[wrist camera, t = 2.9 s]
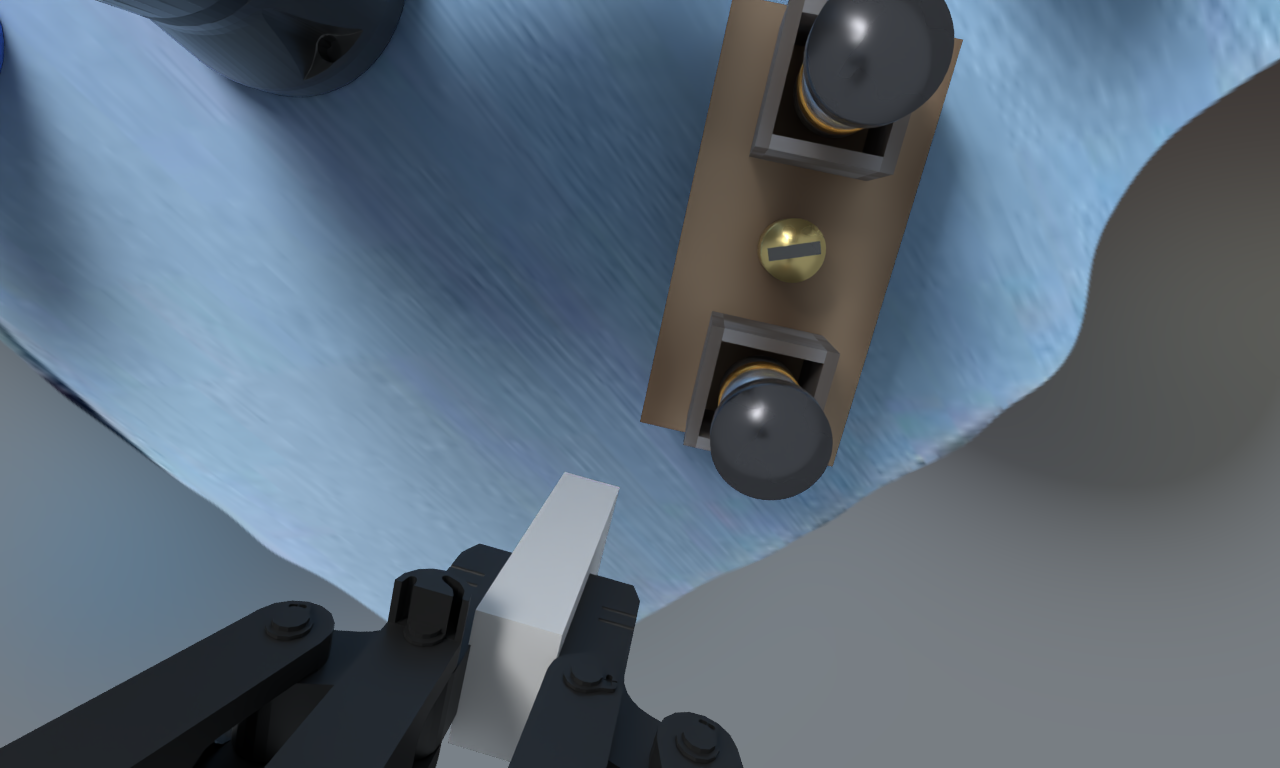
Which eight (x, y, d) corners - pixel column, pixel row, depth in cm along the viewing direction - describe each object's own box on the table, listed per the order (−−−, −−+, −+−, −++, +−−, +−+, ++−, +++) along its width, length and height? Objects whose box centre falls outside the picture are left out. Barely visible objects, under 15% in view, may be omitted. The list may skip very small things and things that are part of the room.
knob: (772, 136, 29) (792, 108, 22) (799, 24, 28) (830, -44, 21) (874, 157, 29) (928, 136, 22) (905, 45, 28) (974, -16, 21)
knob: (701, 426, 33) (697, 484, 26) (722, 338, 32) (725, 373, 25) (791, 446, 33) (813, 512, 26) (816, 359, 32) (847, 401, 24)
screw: (760, 281, 35) (765, 287, 31) (754, 223, 34) (758, 223, 31) (818, 273, 34) (829, 279, 31) (813, 214, 34) (824, 214, 30)
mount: (649, 394, 43) (629, 451, 32) (730, 29, 37) (737, -47, 27) (815, 432, 42) (850, 504, 32) (923, 68, 37) (1009, 6, 26)
